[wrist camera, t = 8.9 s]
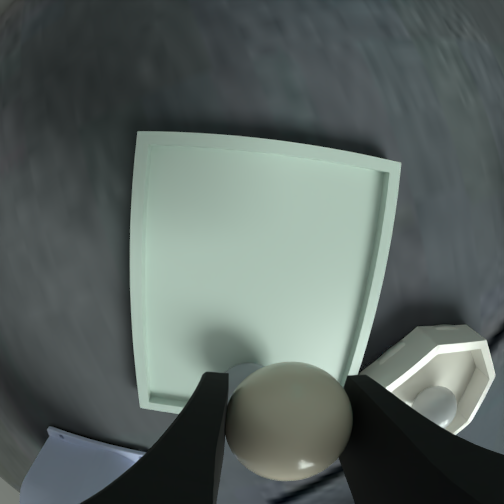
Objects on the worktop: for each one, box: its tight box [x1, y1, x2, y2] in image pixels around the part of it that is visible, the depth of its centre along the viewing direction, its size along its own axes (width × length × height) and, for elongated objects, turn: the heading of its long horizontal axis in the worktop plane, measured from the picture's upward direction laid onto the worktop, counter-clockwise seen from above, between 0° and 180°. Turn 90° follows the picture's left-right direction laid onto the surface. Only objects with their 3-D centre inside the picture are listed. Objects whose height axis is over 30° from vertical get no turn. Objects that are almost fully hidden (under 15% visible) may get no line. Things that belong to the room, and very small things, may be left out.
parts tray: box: [130, 131, 401, 414], centre depth 15 cm, size 12×15×1 cm
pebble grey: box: [412, 386, 457, 429], centre depth 16 cm, size 3×3×3 cm
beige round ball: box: [225, 362, 353, 481], centre depth 7 cm, size 3×3×3 cm
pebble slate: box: [224, 362, 265, 405], centre depth 14 cm, size 3×3×3 cm
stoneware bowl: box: [359, 324, 496, 435], centre depth 17 cm, size 11×11×2 cm
